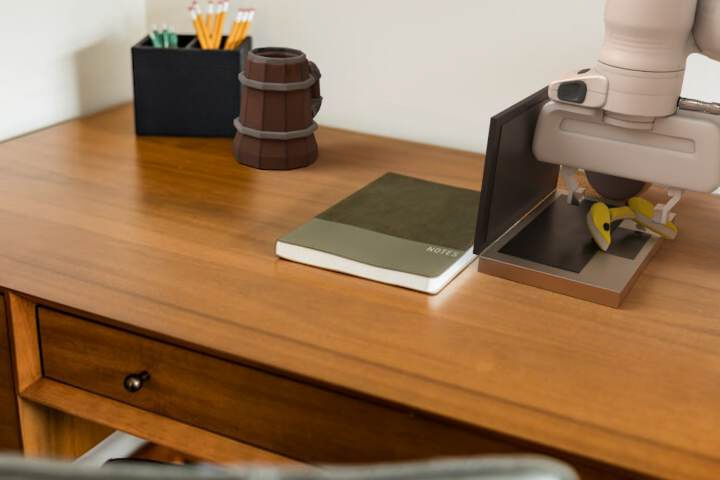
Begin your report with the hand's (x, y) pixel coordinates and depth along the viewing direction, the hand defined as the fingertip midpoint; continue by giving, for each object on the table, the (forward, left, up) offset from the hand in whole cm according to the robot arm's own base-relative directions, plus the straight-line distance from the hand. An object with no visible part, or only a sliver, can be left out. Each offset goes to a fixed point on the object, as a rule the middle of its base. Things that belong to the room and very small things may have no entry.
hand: (616, 213), depth 100 cm
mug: (+50, -8, -5) cm, 50 cm away
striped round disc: (+4, -18, -5) cm, 20 cm away
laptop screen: (+10, 0, +4) cm, 11 cm away
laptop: (+3, 0, -5) cm, 6 cm away
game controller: (-1, -1, -3) cm, 4 cm away
